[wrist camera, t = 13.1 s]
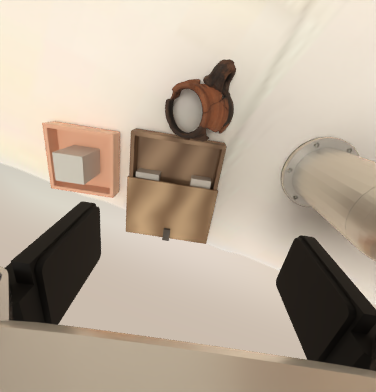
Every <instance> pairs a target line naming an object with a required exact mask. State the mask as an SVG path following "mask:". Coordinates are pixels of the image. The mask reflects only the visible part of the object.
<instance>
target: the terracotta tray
mask: <svg viewBox="0 0 376 392" xmlns="http://www.w3.org/2000/svg"><path fill="white" fill-rule="evenodd" d="M42 125H43V132H44V139H45V147H46V154H47V162H48V169H49V176H50V184H51V188H54V189H60V190H66V191H73V192H79V193H86V194H92V195H98V196H105V197H111V198H113V197H114V196H115V195H116V194H117V193H118V192H119V165H120V132H117V131H111V130H105V129H99V128H93V127H87V126H80V125H74V124H68V123H62V122H56V121H53V122H46V123H42ZM72 145H79V146H85V147H91V148H98V149H100V174H98V175H97V176H96V177H94V178H93V179H91V180H90V181H89V182H87V183H86V184H85V185H82V184H75V183H69V182H62V181H56V179H55V171H54V163H53V155H52V152H55V151H57V150H60V149H63V148H66V147H69V146H72Z"/></svg>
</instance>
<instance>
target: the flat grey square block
mask: <svg viewBox="0 0 376 392" xmlns="http://www.w3.org/2000/svg"><path fill="white" fill-rule="evenodd" d="M136 177H137V178H143V179H149V180H156V181H160V178H161V171H156V170H150V169H144V168H139V169H138V170H137V171H136Z"/></svg>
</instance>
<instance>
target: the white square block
mask: <svg viewBox="0 0 376 392" xmlns="http://www.w3.org/2000/svg"><path fill="white" fill-rule="evenodd" d="M190 186H193V187H200V188H206V189H210V186H211V178H209V177H202V176H196V175H192V176H191V182H190Z"/></svg>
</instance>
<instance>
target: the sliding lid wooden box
mask: <svg viewBox="0 0 376 392" xmlns="http://www.w3.org/2000/svg"><path fill="white" fill-rule="evenodd" d="M226 147H227V146H226V145H225V143H222V142H216V141H210V140H206V141H203V142H202V141H196V140H193V139H192V138H190V140H186V139H184V138H181V137H179V136H177V135H173V134H167V133H161V132H155V131H149V130H142V129H134V130H132V131H131V144H130V173H129V176H128V177H127V210H126V232H133V233H139V234H145V235H152V236H159V237H163V239H162V240H166V241H168V240H169V238H171V239H178V240H185V241H191V242H197V243H204V244H206V241H207V237H208V233H209V228H210V224H211V220H212V215H213V211H214V207H215V202H216V198H217V193H218V190H217V187H218V182H219V178H220V173H221V169H222V164H223V160H224V156H225V151H226ZM139 168H144V169H150V170H156V171H161V178H160V181H156V180H149V179H143V178H137V177H136V171H137V170H138V169H139ZM192 175H196V176H202V177H209V178H211V186H210V189H206V188H200V187H193V186H190V182H191V176H192Z"/></svg>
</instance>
